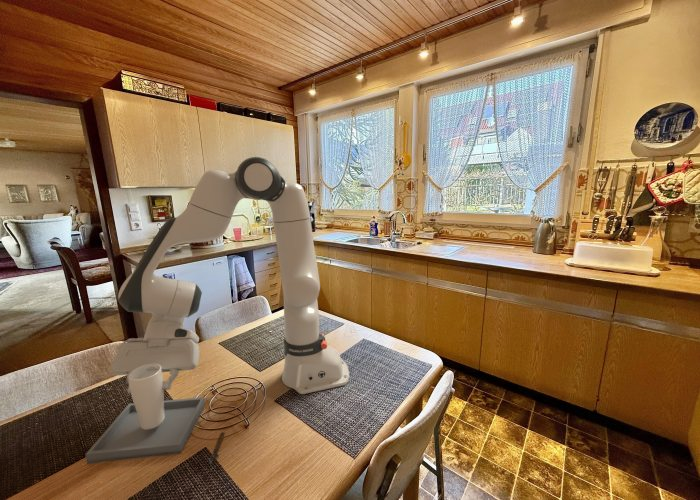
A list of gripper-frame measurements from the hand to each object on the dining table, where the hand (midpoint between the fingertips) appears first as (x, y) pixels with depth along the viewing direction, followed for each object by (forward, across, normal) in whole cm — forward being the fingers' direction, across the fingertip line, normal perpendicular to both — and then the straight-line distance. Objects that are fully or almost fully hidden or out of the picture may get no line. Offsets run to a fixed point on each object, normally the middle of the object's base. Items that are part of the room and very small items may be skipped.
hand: (148, 391), depth 72 cm
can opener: (+14, +18, +2) cm, 23 cm away
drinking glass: (+7, 0, +6) cm, 9 cm away
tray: (+8, 0, +8) cm, 11 cm away
